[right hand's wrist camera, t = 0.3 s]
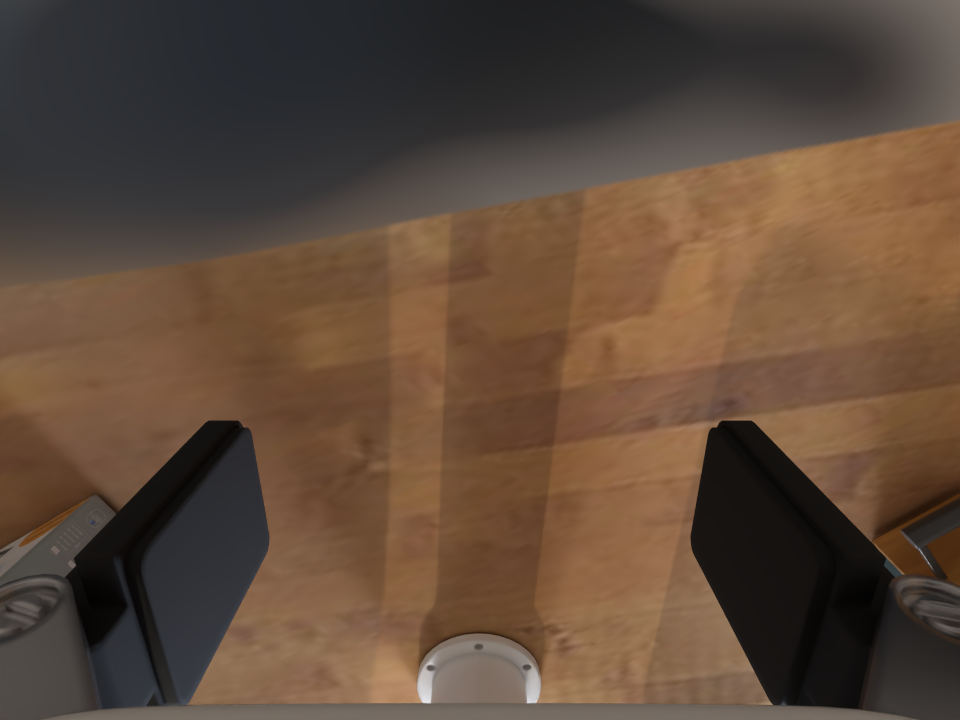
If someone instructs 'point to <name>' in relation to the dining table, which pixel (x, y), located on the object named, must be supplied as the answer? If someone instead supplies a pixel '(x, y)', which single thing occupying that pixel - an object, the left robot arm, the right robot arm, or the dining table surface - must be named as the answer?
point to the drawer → (927, 543)
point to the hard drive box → (55, 542)
